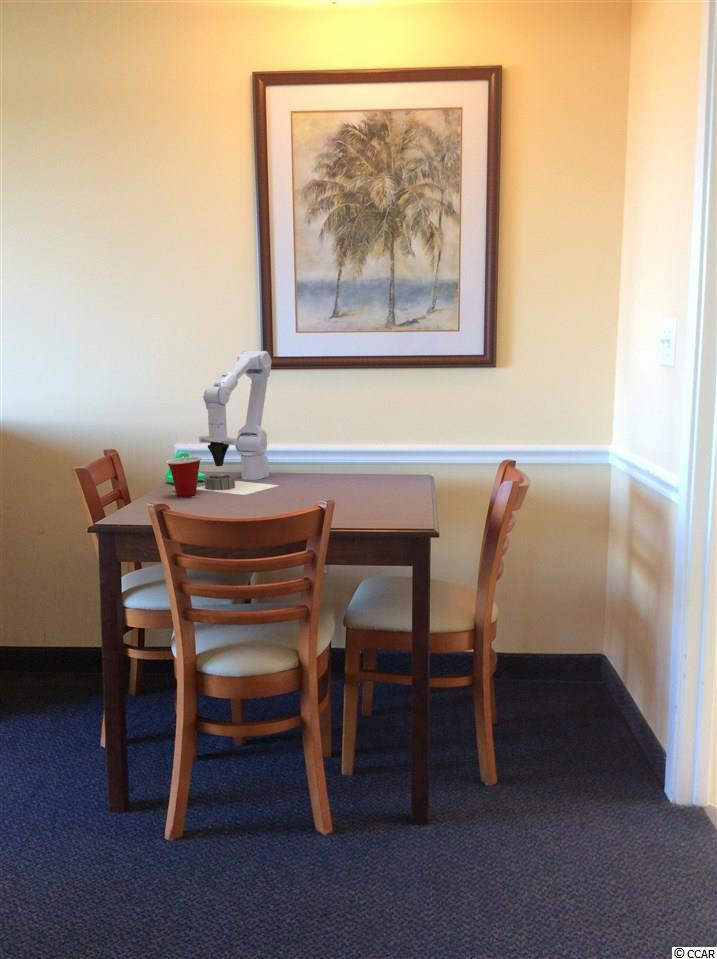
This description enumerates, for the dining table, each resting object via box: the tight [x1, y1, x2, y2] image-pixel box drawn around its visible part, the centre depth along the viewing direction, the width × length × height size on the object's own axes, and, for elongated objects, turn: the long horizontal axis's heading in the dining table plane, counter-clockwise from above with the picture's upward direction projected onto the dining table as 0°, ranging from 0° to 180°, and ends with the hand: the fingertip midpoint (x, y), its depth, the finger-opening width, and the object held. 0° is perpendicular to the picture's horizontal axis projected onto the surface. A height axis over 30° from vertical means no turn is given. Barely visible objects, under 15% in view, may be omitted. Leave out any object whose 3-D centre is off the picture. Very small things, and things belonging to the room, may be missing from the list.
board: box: [196, 474, 281, 496], centre depth 283 cm, size 18×22×4 cm
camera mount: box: [164, 451, 206, 484], centre depth 297 cm, size 12×8×10 cm, turn 121°
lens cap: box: [211, 473, 228, 479], centre depth 283 cm, size 5×5×4 cm
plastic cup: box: [166, 456, 202, 498], centre depth 273 cm, size 11×11×12 cm
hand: (219, 465), depth 282 cm, fingers closed
